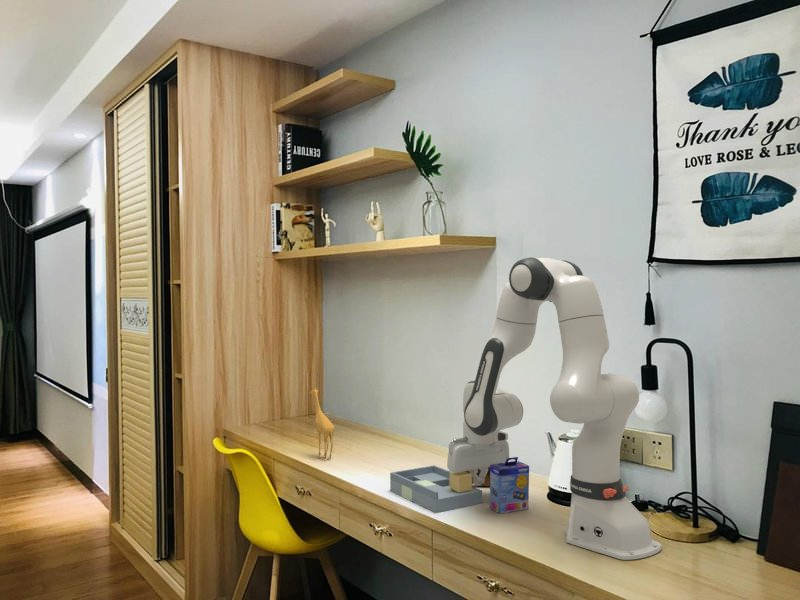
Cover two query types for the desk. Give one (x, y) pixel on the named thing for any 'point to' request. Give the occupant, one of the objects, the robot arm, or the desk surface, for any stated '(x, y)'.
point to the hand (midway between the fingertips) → (478, 483)
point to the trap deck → (432, 489)
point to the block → (461, 481)
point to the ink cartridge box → (509, 486)
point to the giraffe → (323, 425)
